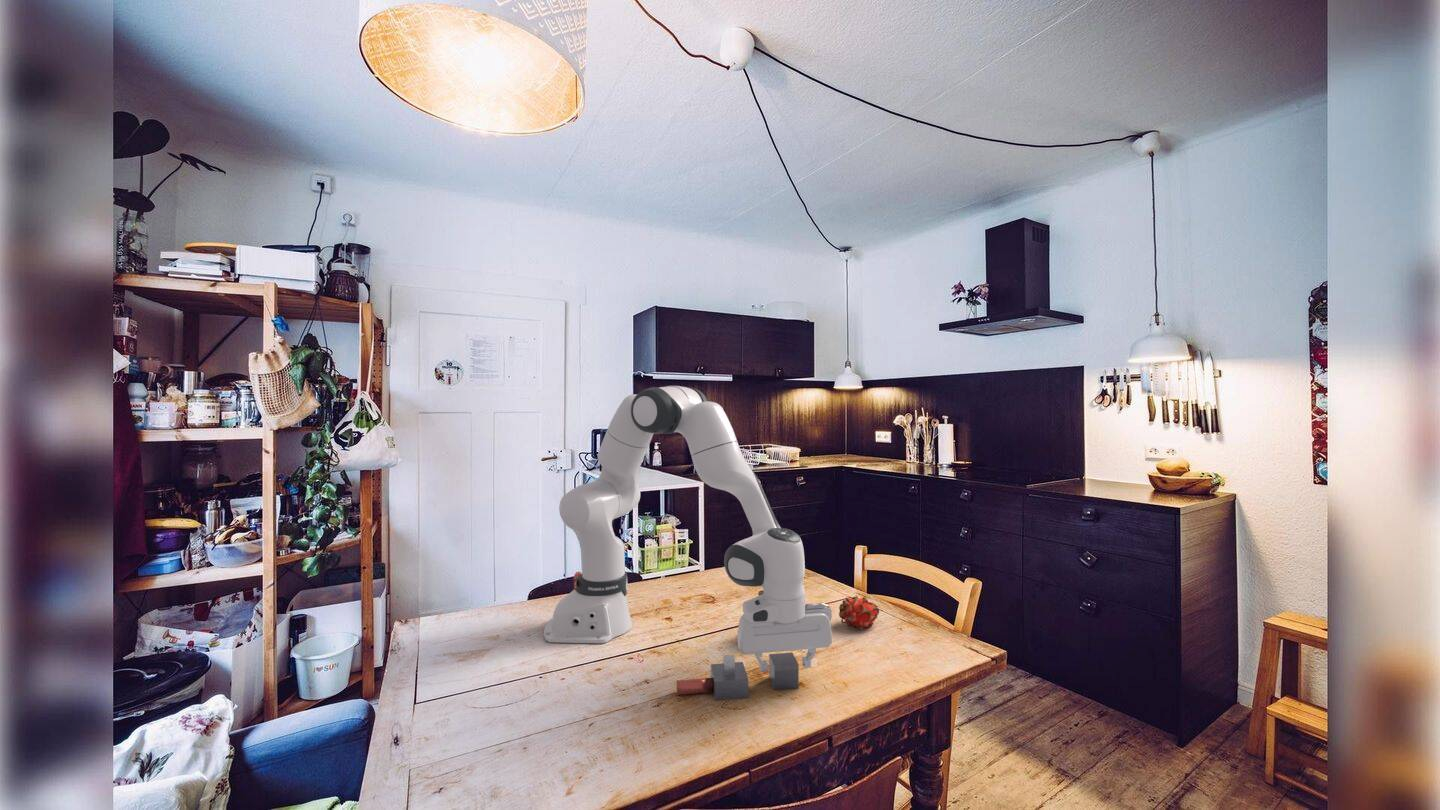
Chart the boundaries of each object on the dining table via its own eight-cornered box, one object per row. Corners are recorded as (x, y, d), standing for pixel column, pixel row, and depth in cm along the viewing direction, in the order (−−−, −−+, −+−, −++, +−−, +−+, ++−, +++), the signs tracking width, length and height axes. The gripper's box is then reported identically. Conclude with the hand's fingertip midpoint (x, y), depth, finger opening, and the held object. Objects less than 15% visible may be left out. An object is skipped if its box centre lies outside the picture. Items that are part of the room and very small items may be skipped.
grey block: (774, 690, 123) (774, 666, 123) (769, 677, 128) (769, 654, 128) (798, 688, 124) (798, 664, 124) (792, 675, 129) (792, 652, 129)
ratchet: (677, 703, 119) (677, 670, 118) (676, 684, 126) (675, 653, 125) (748, 697, 121) (748, 664, 120) (742, 679, 128) (742, 648, 127)
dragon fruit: (834, 633, 152) (874, 633, 155) (849, 626, 145) (891, 626, 149) (828, 600, 157) (868, 601, 160) (843, 591, 150) (884, 592, 153)
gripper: (826, 596, 129) (827, 657, 130) (735, 603, 127) (736, 665, 128) (836, 608, 123) (836, 671, 124) (740, 615, 120) (741, 680, 121)
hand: (785, 668), depth 126 cm, fingers open, 8 cm apart
